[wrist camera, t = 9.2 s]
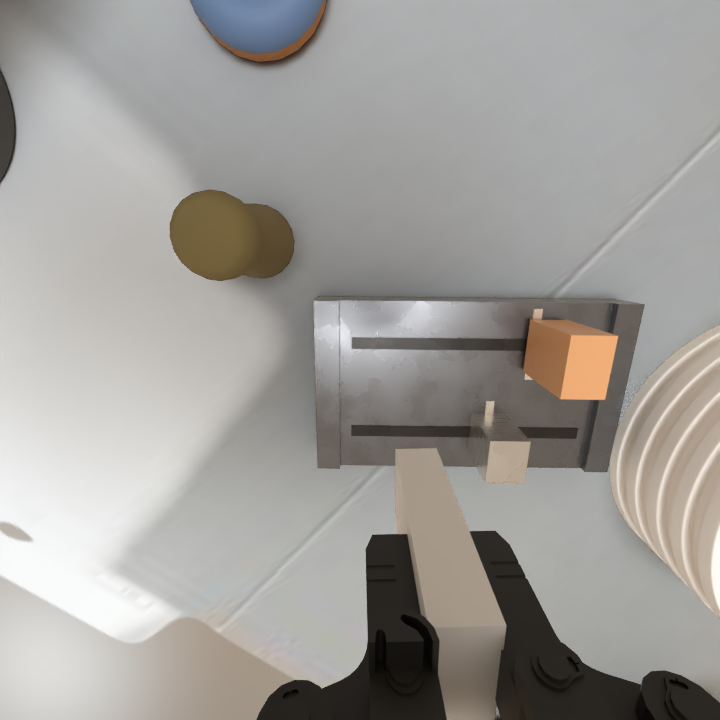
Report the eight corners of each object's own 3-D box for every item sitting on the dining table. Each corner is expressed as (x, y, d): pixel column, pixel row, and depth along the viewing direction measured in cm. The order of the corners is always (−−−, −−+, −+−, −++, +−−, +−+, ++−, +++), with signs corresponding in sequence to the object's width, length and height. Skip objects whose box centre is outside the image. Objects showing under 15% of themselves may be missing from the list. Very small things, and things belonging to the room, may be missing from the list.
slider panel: (318, 296, 32) (304, 308, 25) (614, 299, 32) (693, 313, 24) (322, 448, 36) (310, 499, 29) (583, 451, 36) (643, 504, 29)
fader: (530, 319, 29) (571, 335, 23) (567, 319, 29) (618, 335, 23) (522, 372, 30) (560, 399, 25) (559, 372, 30) (605, 399, 25)
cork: (262, 187, 30) (206, 151, 19) (308, 249, 31) (280, 246, 21) (208, 234, 31) (128, 224, 20) (255, 292, 32) (203, 310, 22)
